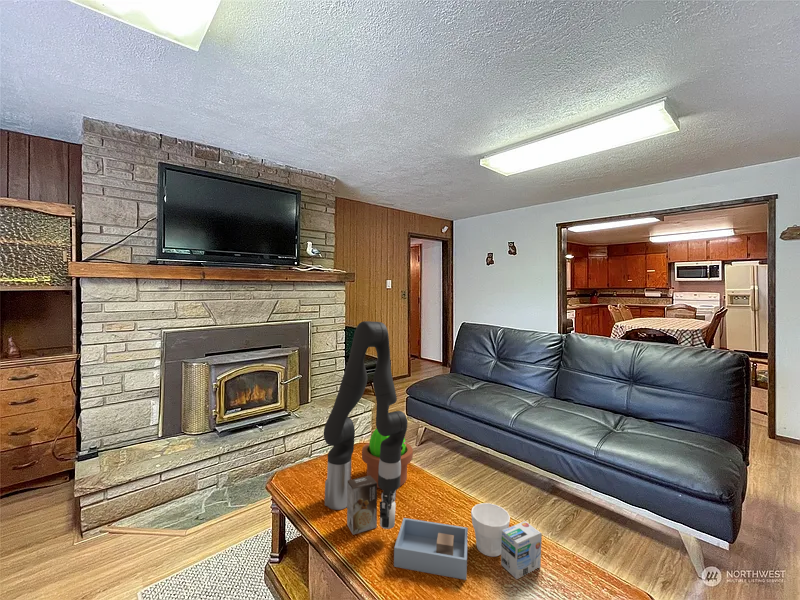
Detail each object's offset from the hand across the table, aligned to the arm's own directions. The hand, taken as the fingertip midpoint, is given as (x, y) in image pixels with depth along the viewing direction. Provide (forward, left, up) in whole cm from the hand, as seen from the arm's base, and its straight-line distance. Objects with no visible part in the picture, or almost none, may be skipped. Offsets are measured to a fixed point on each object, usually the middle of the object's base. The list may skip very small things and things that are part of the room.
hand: (387, 521), depth 118 cm
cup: (+34, +4, -6) cm, 35 cm away
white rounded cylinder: (0, 0, -1) cm, 1 cm away
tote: (+16, -4, -6) cm, 17 cm away
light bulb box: (+43, -2, -6) cm, 43 cm away
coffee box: (-10, +4, -6) cm, 13 cm away
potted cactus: (-9, +37, -6) cm, 39 cm away
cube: (+20, -4, -5) cm, 21 cm away
